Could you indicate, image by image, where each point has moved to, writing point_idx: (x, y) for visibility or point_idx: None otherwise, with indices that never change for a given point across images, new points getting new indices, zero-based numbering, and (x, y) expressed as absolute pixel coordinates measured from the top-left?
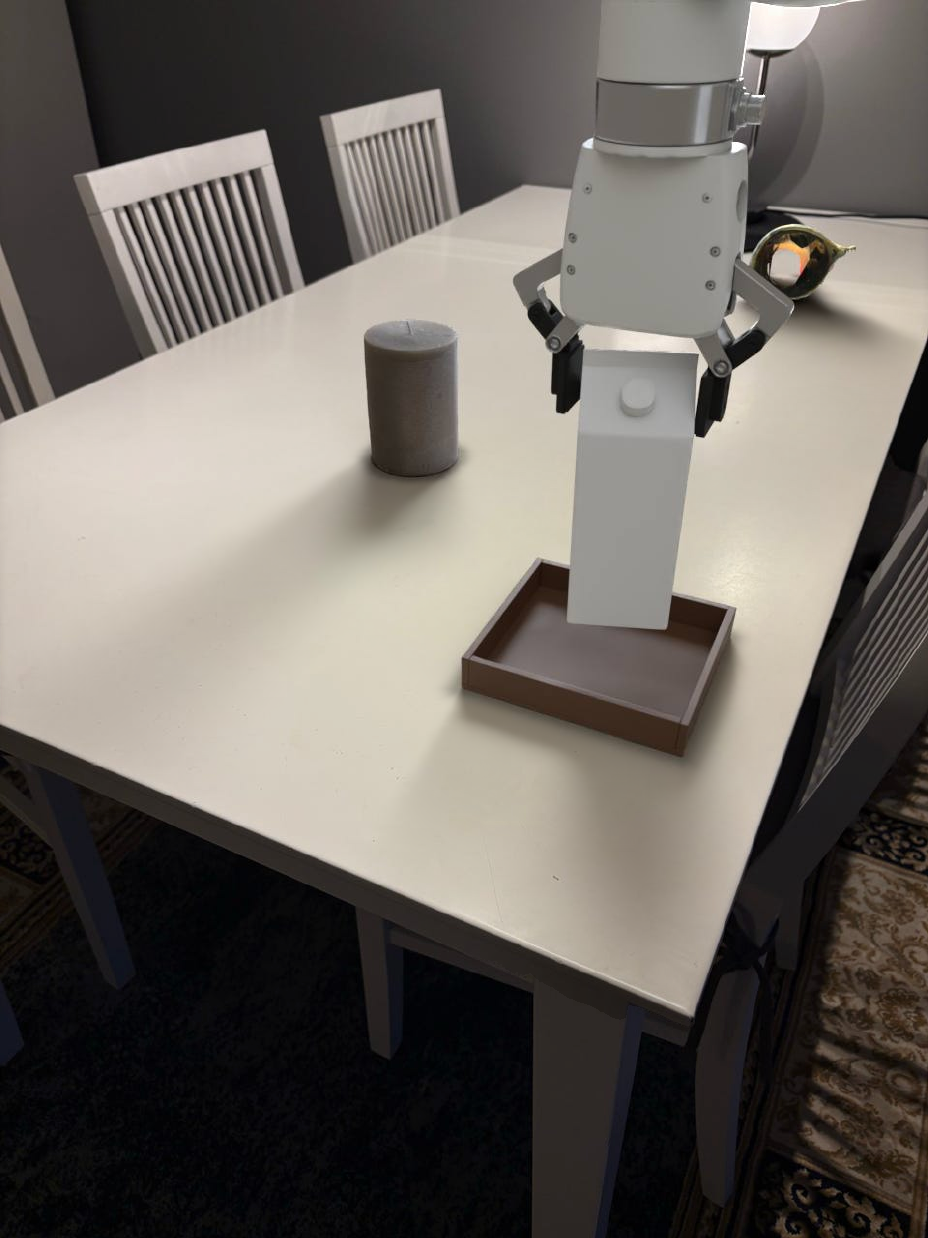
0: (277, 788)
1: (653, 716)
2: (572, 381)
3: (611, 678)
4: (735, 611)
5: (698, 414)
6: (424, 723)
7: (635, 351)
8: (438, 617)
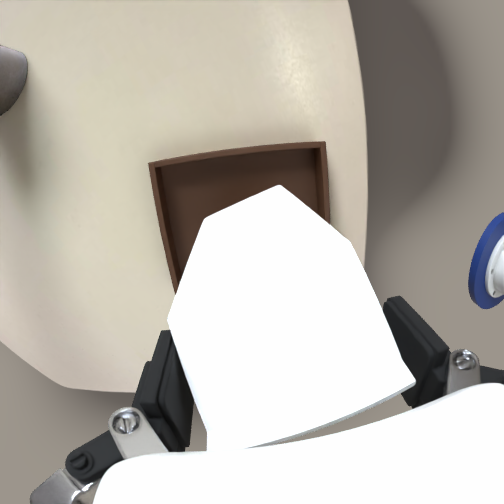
0: None
1: None
2: (187, 400)
3: None
4: (325, 145)
5: None
6: None
7: (301, 434)
8: (122, 239)
